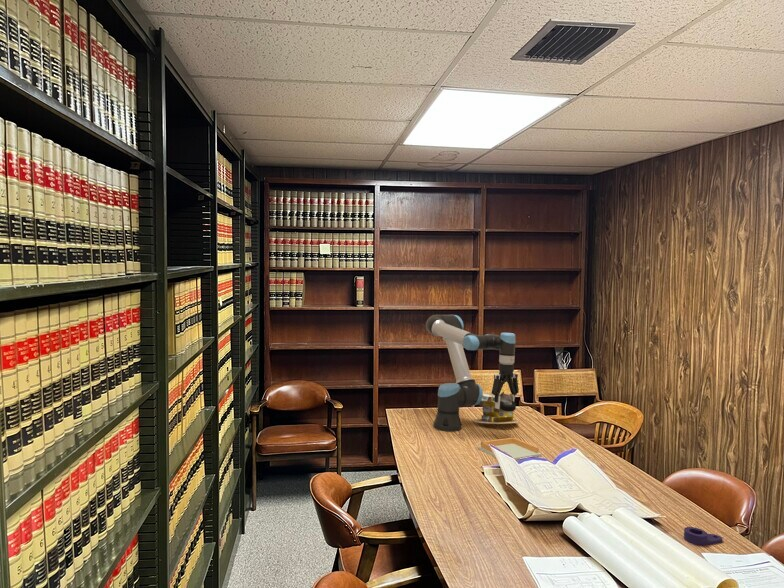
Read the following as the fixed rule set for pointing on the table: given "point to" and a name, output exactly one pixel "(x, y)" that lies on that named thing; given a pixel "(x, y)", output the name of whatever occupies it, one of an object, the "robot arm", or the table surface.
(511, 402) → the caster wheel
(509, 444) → the shallow square tray
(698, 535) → the lever
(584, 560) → the table surface
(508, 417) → the stacked cans on tray
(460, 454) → the table surface
